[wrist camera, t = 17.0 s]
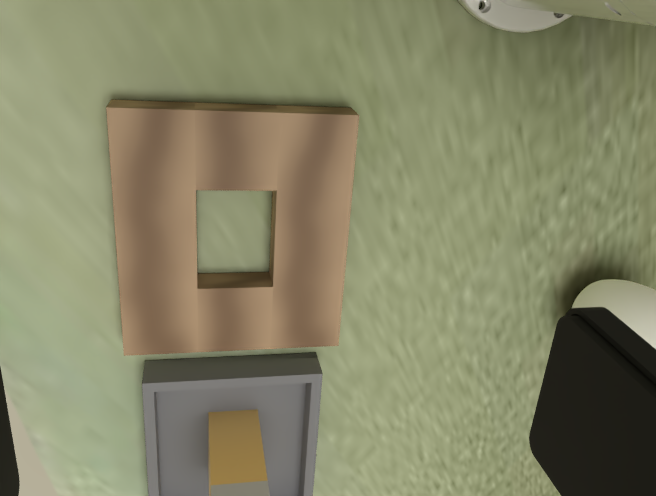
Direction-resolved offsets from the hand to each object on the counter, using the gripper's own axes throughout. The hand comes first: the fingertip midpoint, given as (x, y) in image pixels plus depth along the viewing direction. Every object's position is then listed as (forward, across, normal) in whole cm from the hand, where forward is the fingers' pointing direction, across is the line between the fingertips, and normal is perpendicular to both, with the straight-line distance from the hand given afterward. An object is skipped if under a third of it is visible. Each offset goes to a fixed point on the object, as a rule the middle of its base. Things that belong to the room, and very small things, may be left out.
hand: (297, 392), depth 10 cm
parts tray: (+34, -1, +30) cm, 46 cm away
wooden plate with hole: (+34, -1, +11) cm, 36 cm away
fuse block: (+34, -1, +30) cm, 45 cm away
